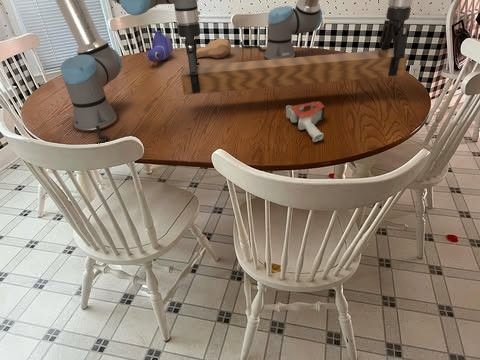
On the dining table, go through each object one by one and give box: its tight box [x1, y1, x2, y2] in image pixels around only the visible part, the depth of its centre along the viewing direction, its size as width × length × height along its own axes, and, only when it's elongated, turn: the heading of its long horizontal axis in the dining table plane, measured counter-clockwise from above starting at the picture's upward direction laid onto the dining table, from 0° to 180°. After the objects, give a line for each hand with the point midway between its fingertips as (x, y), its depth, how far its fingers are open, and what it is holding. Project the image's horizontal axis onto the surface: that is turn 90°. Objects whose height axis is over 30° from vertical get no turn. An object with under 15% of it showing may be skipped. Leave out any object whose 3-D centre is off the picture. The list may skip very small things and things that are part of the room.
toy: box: [146, 29, 174, 67], centre depth 185 cm, size 10×17×25 cm
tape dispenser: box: [285, 100, 325, 143], centre depth 121 cm, size 18×5×20 cm
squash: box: [197, 37, 232, 59], centre depth 188 cm, size 11×20×9 cm, turn 92°
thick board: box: [180, 48, 409, 96], centre depth 132 cm, size 82×8×8 cm, turn 95°
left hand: (196, 87), depth 132 cm, fingers closed on thick board, 8 cm apart
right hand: (387, 71), depth 136 cm, fingers closed on thick board, 8 cm apart
